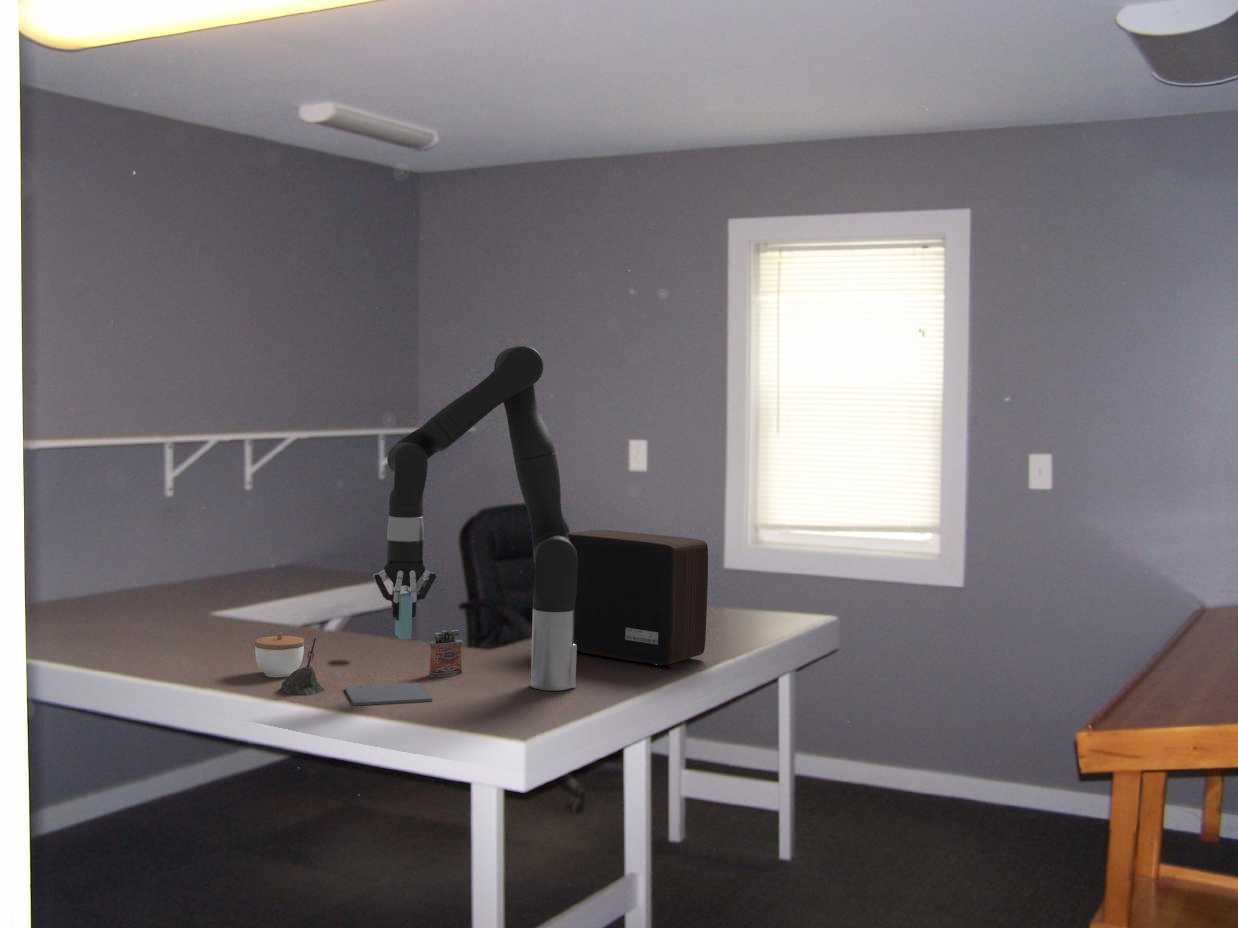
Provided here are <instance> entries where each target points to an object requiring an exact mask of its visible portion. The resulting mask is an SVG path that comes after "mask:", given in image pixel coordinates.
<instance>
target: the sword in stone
mask: <svg viewBox="0 0 1238 928" xmlns="http://www.w3.org/2000/svg"><path fill="white" fill-rule="evenodd" d="M316 640H317V638H316V637H314V638H313V640H312V641H313V643H312V646H311V649H310V650H308V652H307V657H306V658H307V660H308V661H307V665H306V666H304V667H303V666H302V667H301V668H298V669H297V670H296V671H294V672H293V673H292V674H291V675H290V676H288V677H286V678H285V679H284V680H283V682H281V687H280V692H282V693H284V694H287V695H296V696H311V695H317V694H319V693H322V692H323V691H325V689H324V688H323V687H322V685H321V684H320V683H319V682H318V680H317V677H316V674H315V673H316V672H315V669H314V668H313V666H311V663H313V659H314V655H315V653H314V649H315V648H314V647H315V643H316Z"/></svg>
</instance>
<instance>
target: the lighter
mask: <svg viewBox="0 0 1238 928" xmlns="http://www.w3.org/2000/svg"><path fill="white" fill-rule="evenodd" d="M456 637H461V631H460V630H459V629H457V630H449V631H448V630H444V629H443V630H441V632H435V633H434V640H435V641H431V642H429V647H430V654H429V657H430V659H429V663H430V664H429V671H428V672H429V673H428V676H429V677H432V678H439V677H442V678H443V677H451V676H457V675H462V674H463V669H462V660H463V644H464V640H462V639H456Z"/></svg>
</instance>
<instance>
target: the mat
mask: <svg viewBox="0 0 1238 928" xmlns="http://www.w3.org/2000/svg"><path fill="white" fill-rule="evenodd" d="M344 691H345V693H346V695H347V696H348V698H349V700H350V702H351V704H352V705H353V706H354V707H356V706H371V705H373V706H374V704H375V705H390V704H405V703H406V704H407V703H408V704H409V703H425V702H426V703H427V702H433V698H432V697H431V695H430V694H429V693H428V692H427V691H426V689H425V688H424V687H423V686H422V684H421V683H420V682H419V683H417V682H416V683H401V684H396V683H395V684H379V685H362V686H361V685H360V686H359V685H357V686H356V685H355V686H346V687H344Z"/></svg>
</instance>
